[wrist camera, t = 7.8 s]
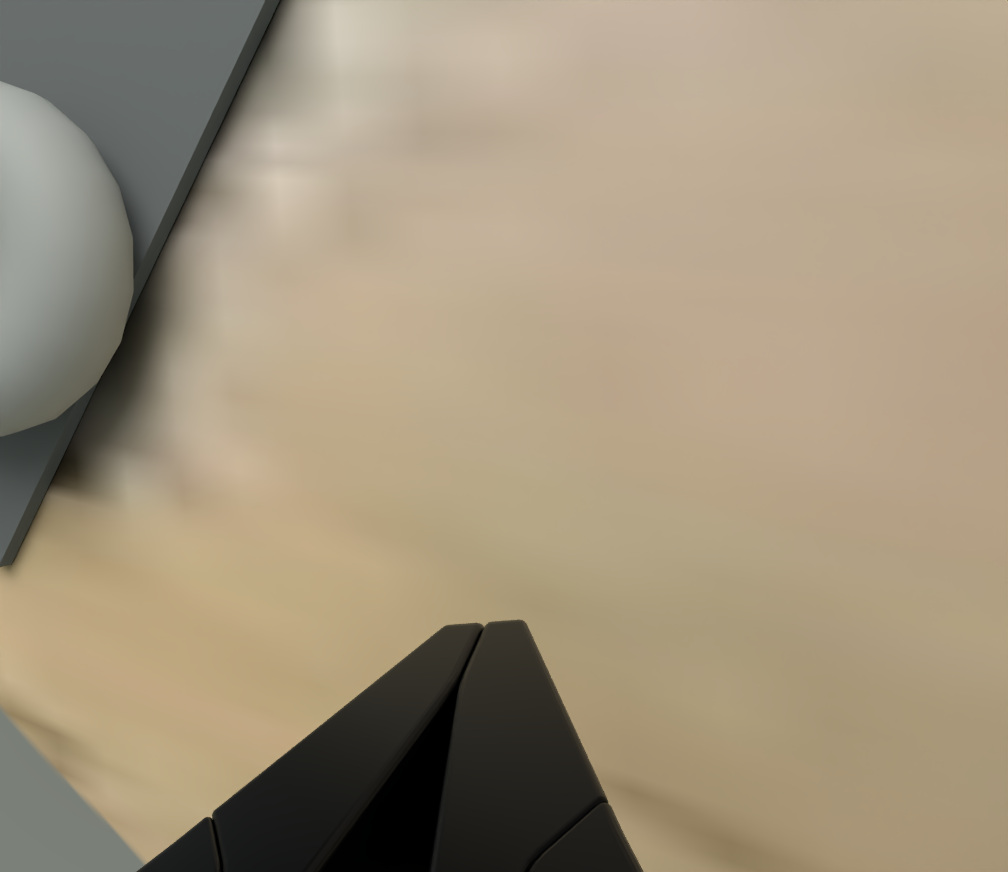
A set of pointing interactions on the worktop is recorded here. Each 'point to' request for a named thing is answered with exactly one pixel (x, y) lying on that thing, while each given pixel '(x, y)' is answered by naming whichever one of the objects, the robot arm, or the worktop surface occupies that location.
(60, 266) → the donut
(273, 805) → the robot arm
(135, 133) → the mat
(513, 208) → the worktop surface
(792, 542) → the worktop surface
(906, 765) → the worktop surface
